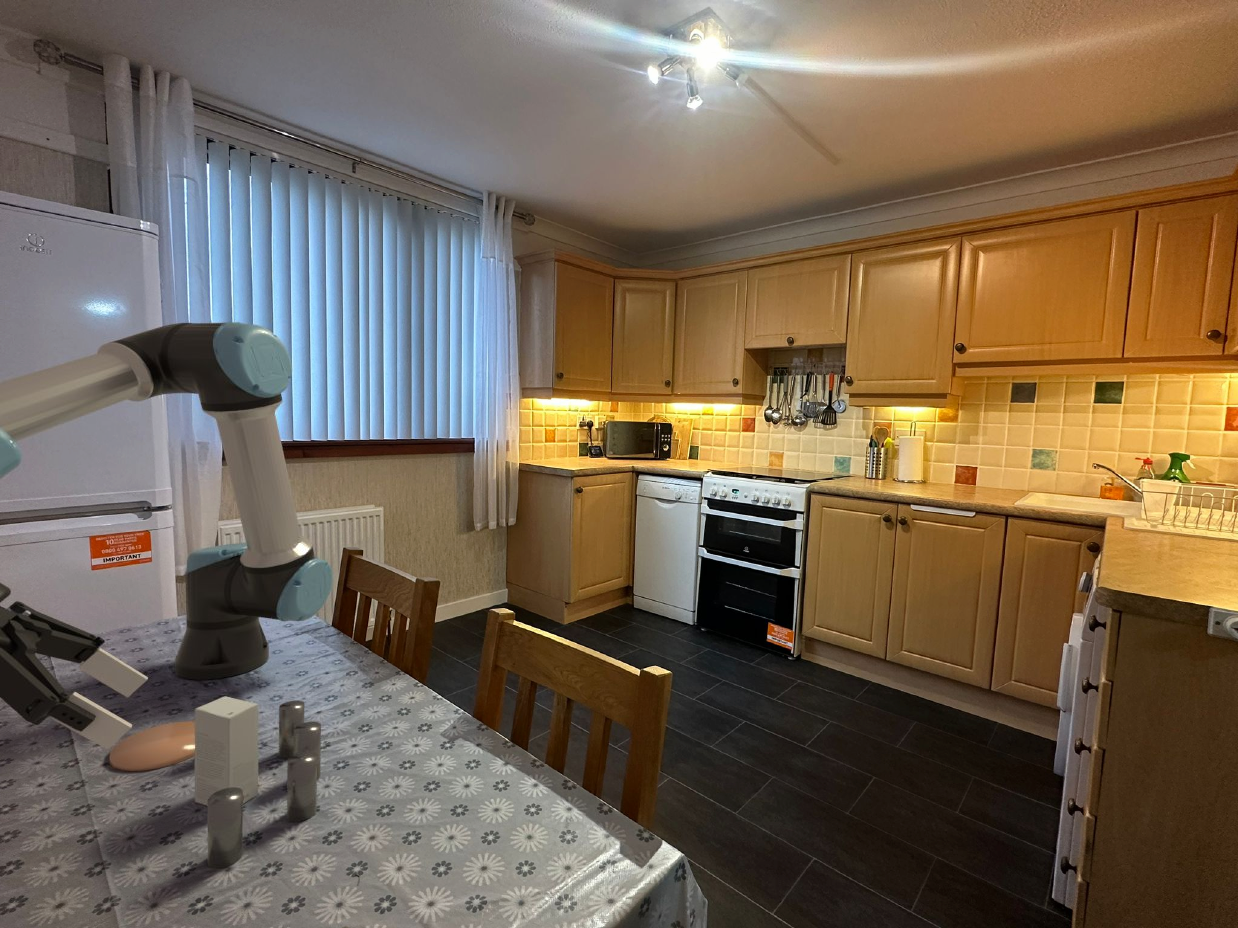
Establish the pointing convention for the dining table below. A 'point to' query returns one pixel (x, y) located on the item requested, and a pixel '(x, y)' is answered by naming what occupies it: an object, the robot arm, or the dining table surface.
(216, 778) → the skincare box
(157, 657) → the dining table surface
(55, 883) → the dining table surface
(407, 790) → the dining table surface
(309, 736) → the set of grey cylinders
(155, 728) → the saucer
